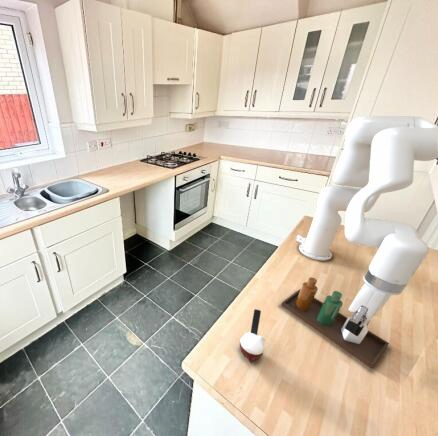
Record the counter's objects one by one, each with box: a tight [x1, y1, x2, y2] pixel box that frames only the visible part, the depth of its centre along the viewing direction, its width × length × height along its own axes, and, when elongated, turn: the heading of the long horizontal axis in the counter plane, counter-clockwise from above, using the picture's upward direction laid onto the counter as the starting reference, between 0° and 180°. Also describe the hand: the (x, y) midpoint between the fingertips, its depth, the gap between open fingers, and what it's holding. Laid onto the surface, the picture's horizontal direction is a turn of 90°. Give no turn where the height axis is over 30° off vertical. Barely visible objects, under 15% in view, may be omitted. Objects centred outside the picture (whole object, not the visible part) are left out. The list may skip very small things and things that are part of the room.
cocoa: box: [239, 308, 265, 364], centre depth 66 cm, size 10×6×12 cm, turn 136°
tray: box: [280, 288, 390, 369], centre depth 76 cm, size 25×11×2 cm, turn 33°
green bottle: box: [317, 290, 344, 326], centre depth 74 cm, size 4×4×12 cm
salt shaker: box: [341, 314, 370, 344], centre depth 70 cm, size 4×4×10 cm
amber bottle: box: [295, 276, 319, 311], centre depth 80 cm, size 4×4×12 cm
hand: (356, 326), depth 70 cm, fingers closed on salt shaker, 5 cm apart
